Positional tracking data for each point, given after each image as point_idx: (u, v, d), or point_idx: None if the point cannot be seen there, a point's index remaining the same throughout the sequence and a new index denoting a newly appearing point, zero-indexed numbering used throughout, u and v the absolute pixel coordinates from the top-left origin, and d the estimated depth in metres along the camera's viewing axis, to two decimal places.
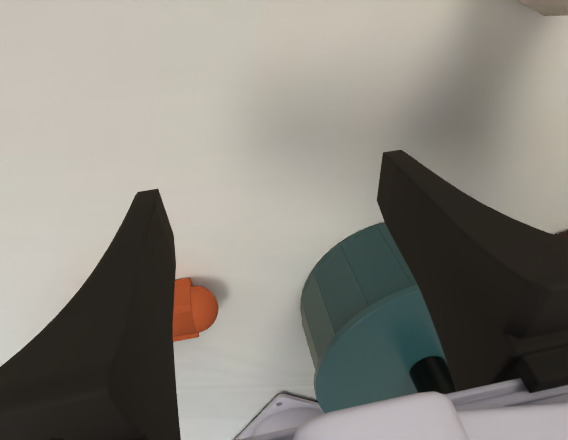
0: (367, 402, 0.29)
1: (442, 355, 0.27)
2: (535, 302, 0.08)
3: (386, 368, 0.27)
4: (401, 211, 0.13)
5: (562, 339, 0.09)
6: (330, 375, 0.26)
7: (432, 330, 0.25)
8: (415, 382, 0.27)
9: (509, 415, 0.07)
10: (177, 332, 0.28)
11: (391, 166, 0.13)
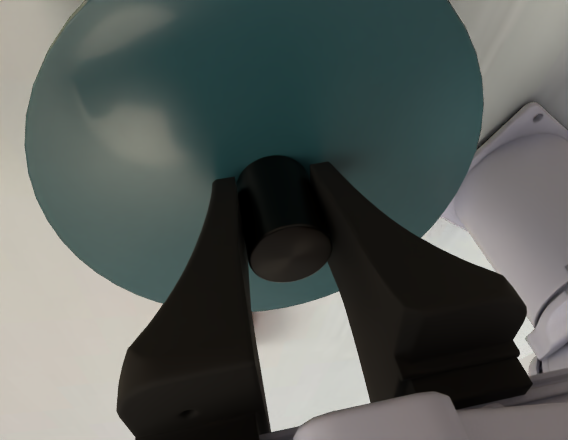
0: None
1: (238, 168, 0.14)
2: (413, 326, 0.08)
3: None
4: None
5: (452, 362, 0.09)
6: (254, 300, 0.19)
7: (164, 205, 0.14)
8: None
9: (509, 415, 0.07)
10: None
11: (315, 179, 0.13)
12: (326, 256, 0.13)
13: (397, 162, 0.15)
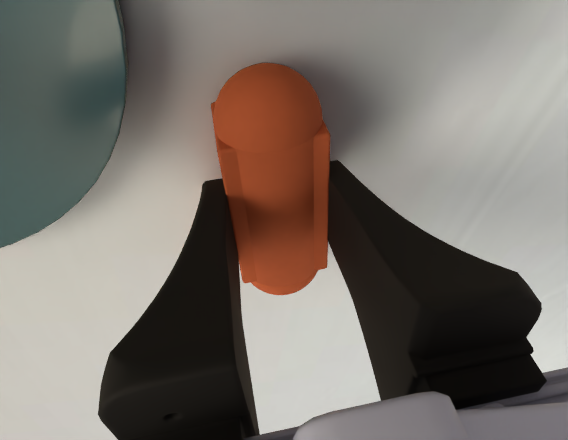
0: None
1: None
2: (429, 323, 0.08)
3: None
4: (335, 223, 0.13)
5: (466, 359, 0.09)
6: None
7: None
8: None
9: (509, 415, 0.07)
10: (291, 183, 0.12)
11: None
12: None
13: None
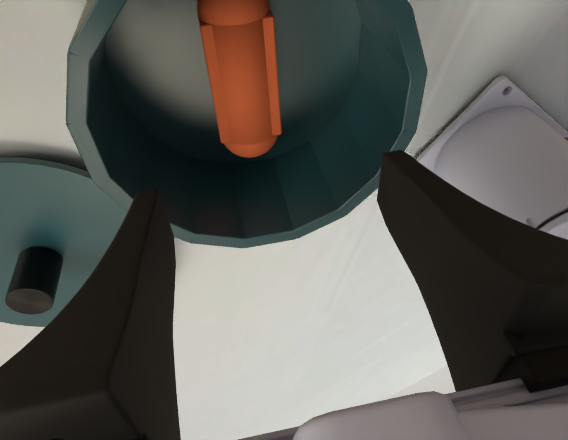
0: None
1: (17, 253, 0.26)
2: (535, 302, 0.08)
3: None
4: (401, 211, 0.13)
5: (562, 339, 0.09)
6: None
7: None
8: None
9: (509, 415, 0.07)
10: (249, 52, 0.18)
11: (391, 166, 0.13)
12: (50, 301, 0.25)
13: None
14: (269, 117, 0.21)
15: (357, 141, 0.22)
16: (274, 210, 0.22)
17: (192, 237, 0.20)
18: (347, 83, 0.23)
